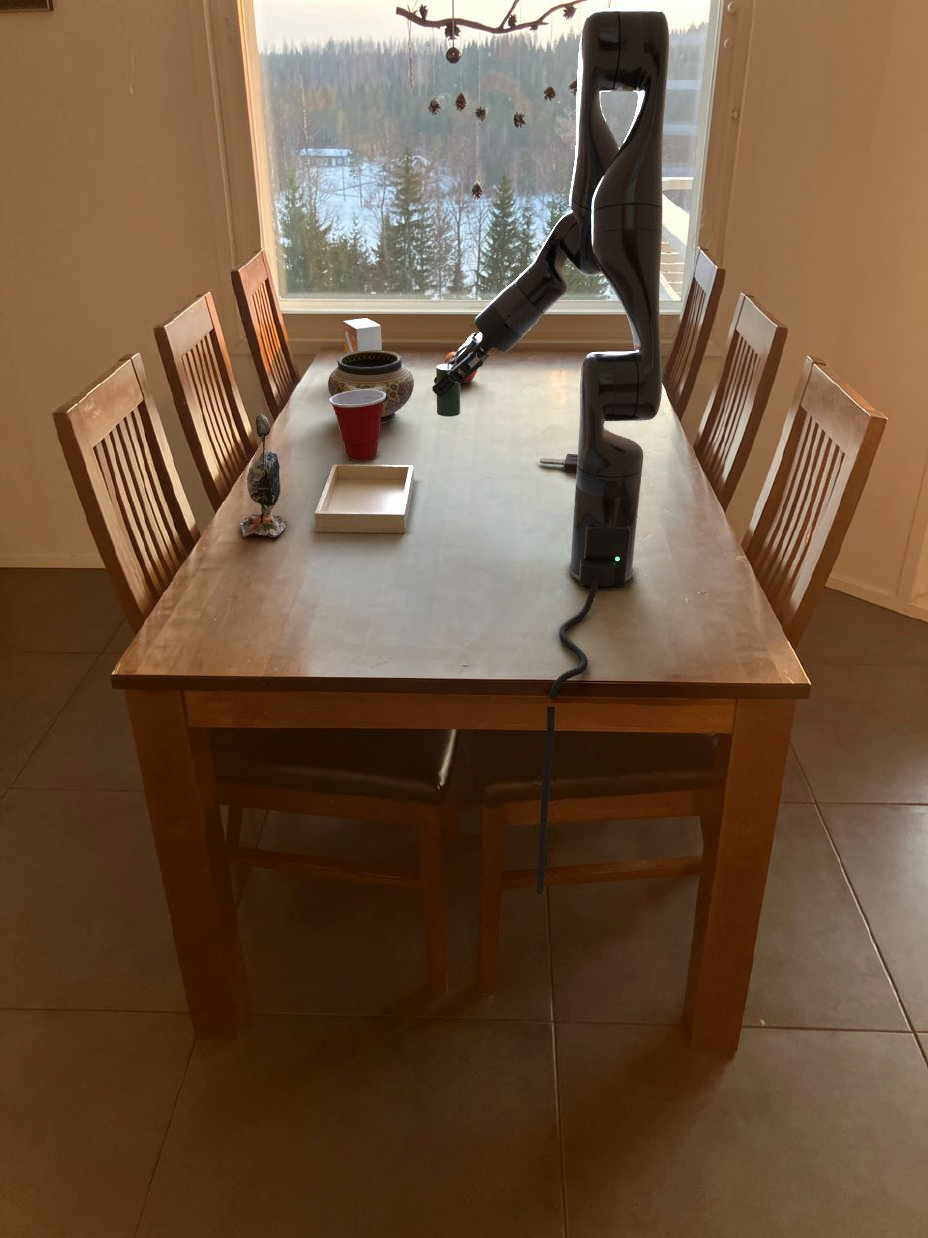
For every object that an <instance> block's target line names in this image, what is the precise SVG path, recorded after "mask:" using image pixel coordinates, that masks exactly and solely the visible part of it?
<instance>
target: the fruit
mask: <svg viewBox="0 0 928 1238" xmlns="http://www.w3.org/2000/svg"><path fill="white" fill-rule="evenodd" d="M456 352H457V351H451V352H449V353H448V354H447V355H446V357H445V359H444V362H443V364H447V362H449V361H450V360H452V359H451V358H452V356H453V355H454V354H455V353H456ZM462 373H463V371H462V372H461V373H460V375H461V374H462ZM477 373H478V369H477V370H476V371H474V372H473V373H472V374H471V375H470V376H469V377H467V378H466V379H465V380H464V381H463V382H462V383H461V384H469V383H471V382H472V381H473V379H474V378H475V376H476V374H477Z"/></svg>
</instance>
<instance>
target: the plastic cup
mask: <svg viewBox="0 0 928 1238" xmlns="http://www.w3.org/2000/svg"><path fill="white" fill-rule="evenodd" d="M385 397H386V393H384V392H382V391H378V390H366V389H364V390H352V391H347V392H342V393H339V394H336V395H334V396H332V397H331V396H330V397H329V398H328V399H329V400H328V403H329V404H330V405H331V406H332V409H333V411H334V413H335V416H336V420H337V423H338V428H339V432H340V437H341V441H342V442H343V446H344V451H345V454H346V457H347V458H348V459H349V460H352V461H370V460H373V459H374V458H376V457H377V453H378V447H379V441H380V433H381V432H380V431H381V425H382V424H381V414H382V408H383V403H384V399H385Z"/></svg>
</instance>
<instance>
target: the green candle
mask: <svg viewBox="0 0 928 1238" xmlns="http://www.w3.org/2000/svg"><path fill="white" fill-rule="evenodd" d="M453 365H454V364H449V362H447V364H444V363H442V364H438V365H437V366H436V369H435V371H436V372H435V373H436V374H435V375H436V376H435V377H437V382H438V381H439V380H440V379H441V378H442V377H443V376H444V375H445V374H446V373H447V372H448V370H449V369H450V368H451V367H452V366H453ZM457 372H458V373H459V374H460V369H458V370H457ZM436 414H437V415H438V416H441V417H448V418H449V417H451V418H452V417H456V416H459V415H460V414H461V383H460V384H458V383H456V384H455V385H454V386H453V387H451V388H450V389H449V390H448V391H447V392H446V393H445V394H444V395H443V396H442V397H438V396H437V395H436Z"/></svg>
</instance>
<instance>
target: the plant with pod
mask: <svg viewBox="0 0 928 1238" xmlns="http://www.w3.org/2000/svg"><path fill="white" fill-rule="evenodd" d="M255 426H256V435H257V436H258V437H259V438H260V439H261V442H262V452H261V453H259V455H258V456H256V458H255V460H254V462H252V465H251V466H250V468H249V469H248V472H247V476H246V477H245V478H246V487H247V491H248V494H249V495H248V496H249V497H250V500H252V501H253V502H254V503H257V504H259V505H260V506H261V507H260V513H258V512H255V513H251V514H250V515H249V516H248V517H247V518H246V517H245V518H244V520H242V522H240V524H239V526H240V527H241V528H240V530H242V536H243V537H247V536H251V535H254V534H255V535H256V536H258V535H259V536H261V535H262V537H265V536H266V537H268V536H269V537H270V538H276V537H278V536H280V535H281V534H282V532H283V531H284V529H285V528H287V526H288V523H287V521H285V520H284V518H283V517H282V516H281V515H275V516H273V513H272V511H273V509H274V507H276V504H277V503H278V500H279V498H280V495H281V479H280V468H281V466H280V462H279V458H278V455H277V453H276V452H274V451H272V450H270V451H269V450H268V451H265V450H266V444H265V443H266V437H267V436H269V434H270V433H271V425H270V421H269V420H268V418H267V417H266V415H264V414H262V413H259V414H258V415H257V416H256V419H255ZM276 451H279V449H278V448H277V449H276Z"/></svg>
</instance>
